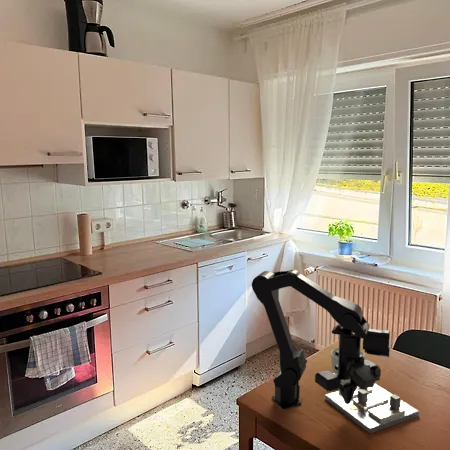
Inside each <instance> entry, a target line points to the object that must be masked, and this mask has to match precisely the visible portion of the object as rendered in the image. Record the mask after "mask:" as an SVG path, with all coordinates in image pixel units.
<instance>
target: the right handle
mask: <svg viewBox="0 0 450 450" xmlns="http://www.w3.org/2000/svg"><path fill="white" fill-rule="evenodd" d="M401 400H402V398H401V397H400V396H398V395H397V394H396V393H395V394H393V395H391V396H390V406H391V407H392V408H394V409H398V408H400V401H401Z"/></svg>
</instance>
